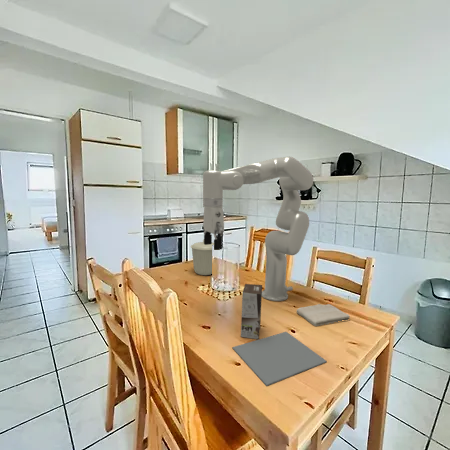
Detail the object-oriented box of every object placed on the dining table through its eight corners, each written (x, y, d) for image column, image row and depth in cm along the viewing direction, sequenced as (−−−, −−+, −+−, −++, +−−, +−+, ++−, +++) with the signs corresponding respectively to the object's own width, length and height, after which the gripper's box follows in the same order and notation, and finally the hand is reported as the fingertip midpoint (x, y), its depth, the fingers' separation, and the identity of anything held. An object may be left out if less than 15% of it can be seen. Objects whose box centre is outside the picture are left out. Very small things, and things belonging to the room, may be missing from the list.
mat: (286, 332, 93) (286, 331, 93) (326, 362, 77) (326, 361, 77) (232, 348, 83) (232, 347, 83) (266, 386, 67) (266, 384, 67)
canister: (226, 273, 159) (227, 239, 156) (204, 280, 146) (205, 242, 143) (206, 266, 171) (207, 234, 168) (184, 272, 158) (184, 238, 155)
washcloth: (351, 321, 104) (352, 314, 103) (314, 328, 98) (315, 320, 97) (329, 308, 115) (330, 301, 114) (295, 314, 109) (296, 307, 108)
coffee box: (259, 339, 88) (261, 294, 86) (240, 337, 90) (241, 292, 88) (260, 326, 97) (262, 284, 95) (243, 324, 98) (245, 282, 96)
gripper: (232, 204, 94) (231, 250, 97) (212, 201, 110) (212, 241, 112) (213, 204, 91) (212, 252, 93) (195, 202, 106) (196, 243, 109)
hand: (212, 246), depth 103 cm, fingers open, 9 cm apart
